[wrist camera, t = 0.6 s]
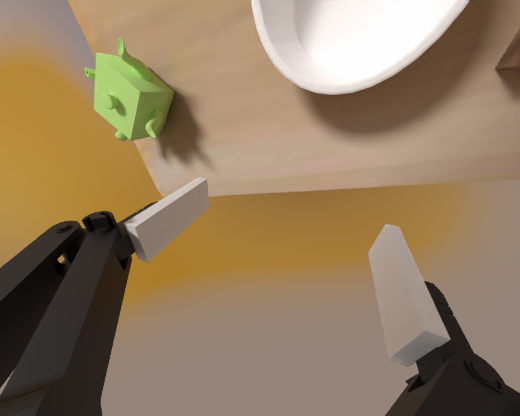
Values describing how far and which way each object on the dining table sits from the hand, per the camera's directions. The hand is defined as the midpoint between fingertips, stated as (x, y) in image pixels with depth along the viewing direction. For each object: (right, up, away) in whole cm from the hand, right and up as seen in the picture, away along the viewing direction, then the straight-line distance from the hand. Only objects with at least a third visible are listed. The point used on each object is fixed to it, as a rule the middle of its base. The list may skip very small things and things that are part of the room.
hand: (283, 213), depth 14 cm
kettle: (-24, +25, +28) cm, 44 cm away
